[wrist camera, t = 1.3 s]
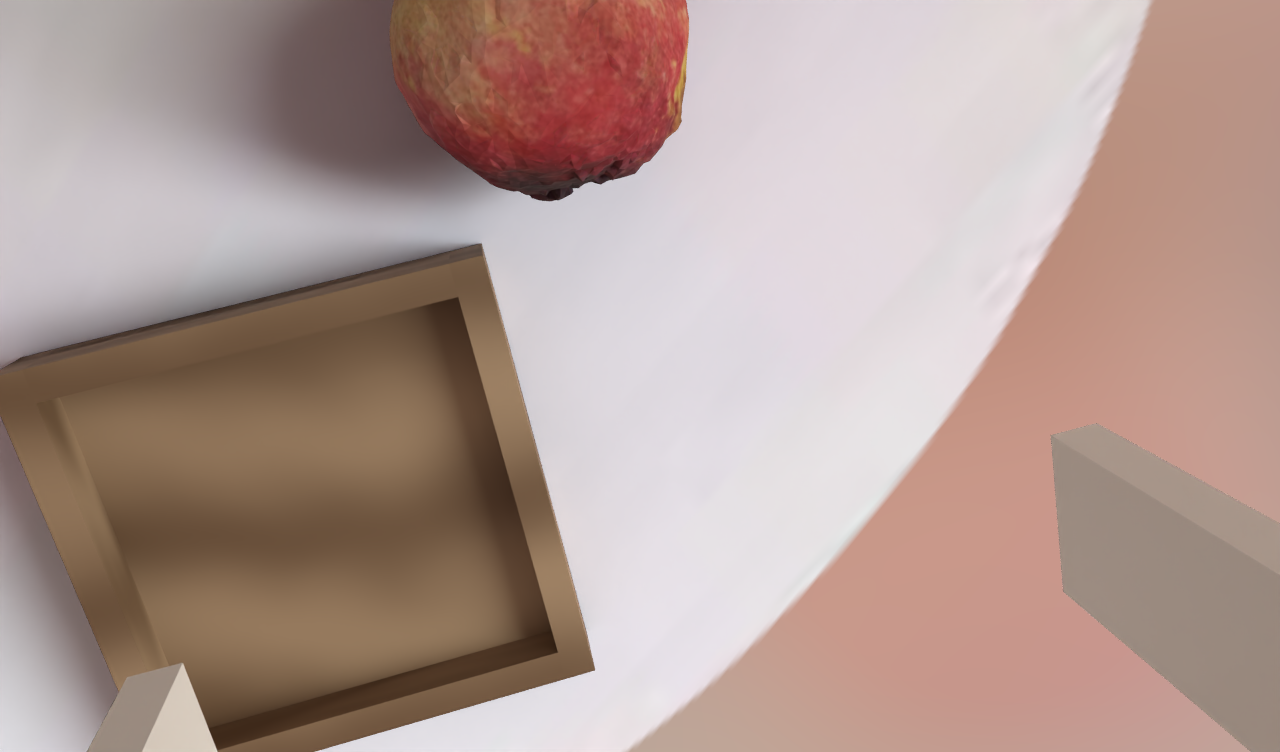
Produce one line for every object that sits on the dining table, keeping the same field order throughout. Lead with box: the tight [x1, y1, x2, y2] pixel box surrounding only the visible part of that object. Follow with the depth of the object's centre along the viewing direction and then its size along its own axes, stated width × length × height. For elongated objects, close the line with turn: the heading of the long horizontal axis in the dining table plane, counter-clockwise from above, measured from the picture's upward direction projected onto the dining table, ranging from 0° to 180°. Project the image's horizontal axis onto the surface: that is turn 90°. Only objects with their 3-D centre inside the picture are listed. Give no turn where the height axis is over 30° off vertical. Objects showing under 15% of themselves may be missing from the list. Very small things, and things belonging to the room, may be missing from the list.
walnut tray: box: [0, 244, 595, 752], centre depth 32 cm, size 14×14×2 cm
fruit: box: [389, 0, 689, 201], centre depth 27 cm, size 8×8×8 cm
